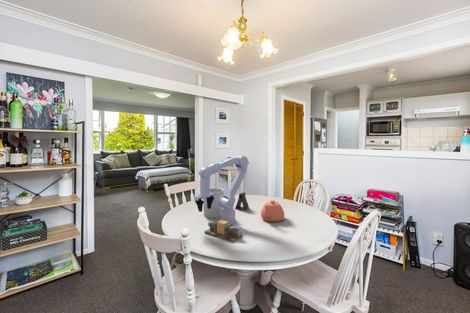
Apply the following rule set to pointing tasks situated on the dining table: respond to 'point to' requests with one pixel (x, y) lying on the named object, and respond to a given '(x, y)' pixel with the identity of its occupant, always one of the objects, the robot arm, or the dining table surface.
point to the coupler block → (221, 226)
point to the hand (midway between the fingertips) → (204, 210)
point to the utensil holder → (214, 203)
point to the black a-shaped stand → (242, 200)
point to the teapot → (272, 211)
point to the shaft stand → (230, 232)
